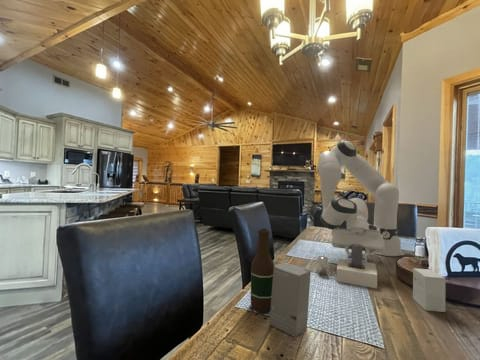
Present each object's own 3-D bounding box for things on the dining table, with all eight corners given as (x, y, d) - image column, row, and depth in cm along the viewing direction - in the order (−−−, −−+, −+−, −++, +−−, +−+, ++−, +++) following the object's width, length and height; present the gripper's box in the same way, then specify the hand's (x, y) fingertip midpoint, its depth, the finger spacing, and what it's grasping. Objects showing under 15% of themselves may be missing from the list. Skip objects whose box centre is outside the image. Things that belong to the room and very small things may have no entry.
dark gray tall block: (351, 272, 103) (351, 243, 103) (361, 273, 102) (362, 244, 102) (350, 275, 100) (351, 245, 100) (362, 277, 98) (362, 246, 98)
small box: (445, 313, 75) (446, 278, 75) (424, 310, 76) (425, 276, 76) (431, 300, 83) (431, 269, 83) (412, 298, 84) (413, 267, 84)
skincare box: (268, 325, 67) (270, 266, 67) (283, 315, 72) (284, 260, 72) (296, 339, 61) (297, 275, 61) (310, 327, 66) (311, 268, 66)
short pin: (318, 271, 108) (318, 255, 108) (327, 273, 106) (328, 256, 106) (316, 274, 104) (317, 257, 104) (326, 276, 102) (327, 259, 102)
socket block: (339, 269, 110) (339, 258, 110) (374, 275, 104) (374, 263, 104) (336, 281, 97) (336, 268, 97) (377, 288, 91) (377, 274, 91)
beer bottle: (245, 303, 78) (247, 227, 78) (267, 299, 81) (268, 226, 81) (256, 316, 71) (258, 232, 71) (280, 311, 74) (281, 231, 74)
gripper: (331, 223, 111) (329, 250, 103) (384, 227, 103) (386, 258, 94) (332, 231, 115) (330, 258, 107) (382, 236, 107) (384, 266, 98)
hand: (356, 258), depth 100 cm, fingers closed on dark gray tall block, 4 cm apart
